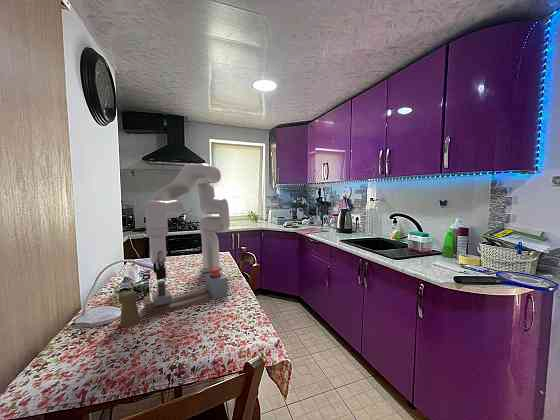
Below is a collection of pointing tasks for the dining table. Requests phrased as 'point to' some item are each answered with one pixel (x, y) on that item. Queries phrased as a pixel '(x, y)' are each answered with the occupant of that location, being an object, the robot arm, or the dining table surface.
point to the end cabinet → (216, 285)
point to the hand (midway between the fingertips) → (159, 275)
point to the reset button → (215, 272)
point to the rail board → (176, 302)
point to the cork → (129, 309)
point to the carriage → (161, 295)
